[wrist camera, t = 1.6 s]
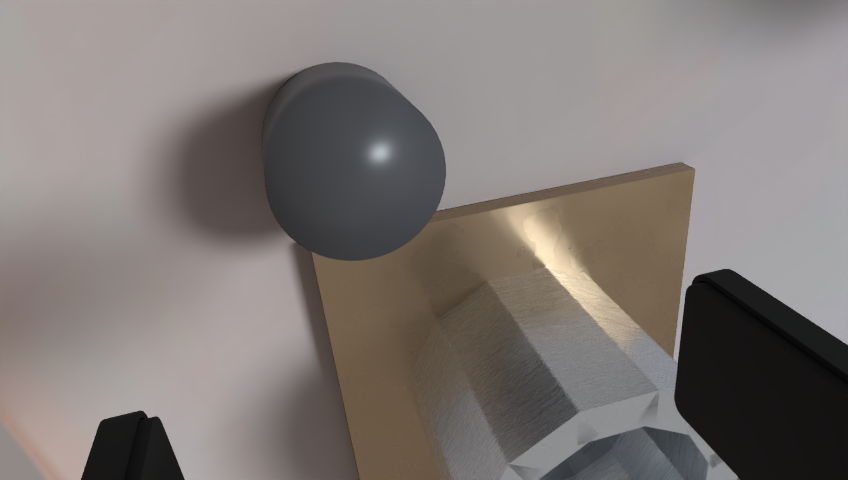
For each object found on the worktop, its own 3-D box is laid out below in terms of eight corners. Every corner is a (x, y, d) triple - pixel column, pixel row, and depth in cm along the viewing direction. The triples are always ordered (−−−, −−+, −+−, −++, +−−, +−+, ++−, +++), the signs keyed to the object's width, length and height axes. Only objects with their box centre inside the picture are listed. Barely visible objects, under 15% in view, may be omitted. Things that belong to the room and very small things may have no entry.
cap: (245, 75, 22) (245, 105, 18) (402, 51, 23) (437, 74, 19) (280, 220, 25) (286, 277, 21) (418, 192, 26) (452, 241, 22)
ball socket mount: (308, 236, 25) (336, 386, 17) (681, 162, 29) (868, 255, 20) (368, 518, 34) (407, 716, 25) (652, 436, 37) (775, 586, 28)
